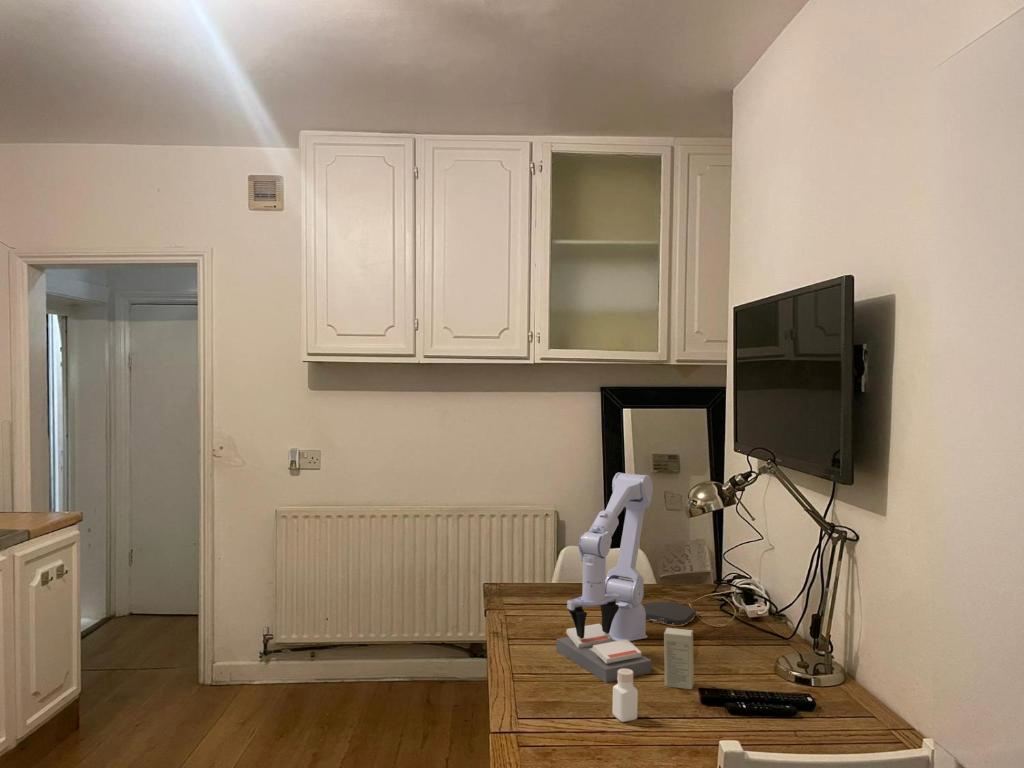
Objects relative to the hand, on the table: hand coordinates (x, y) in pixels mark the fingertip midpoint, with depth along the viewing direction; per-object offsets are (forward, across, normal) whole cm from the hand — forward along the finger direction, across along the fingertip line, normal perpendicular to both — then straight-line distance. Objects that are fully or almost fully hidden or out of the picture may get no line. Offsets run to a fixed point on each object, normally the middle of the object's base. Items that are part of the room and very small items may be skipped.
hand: (593, 634), depth 182 cm
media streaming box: (+6, -37, -16) cm, 41 cm away
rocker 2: (+1, 0, +10) cm, 10 cm away
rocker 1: (+1, 0, -2) cm, 2 cm away
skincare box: (+6, -8, +23) cm, 25 cm away
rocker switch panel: (+5, 0, +4) cm, 7 cm away
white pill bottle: (+6, +13, +31) cm, 34 cm away
